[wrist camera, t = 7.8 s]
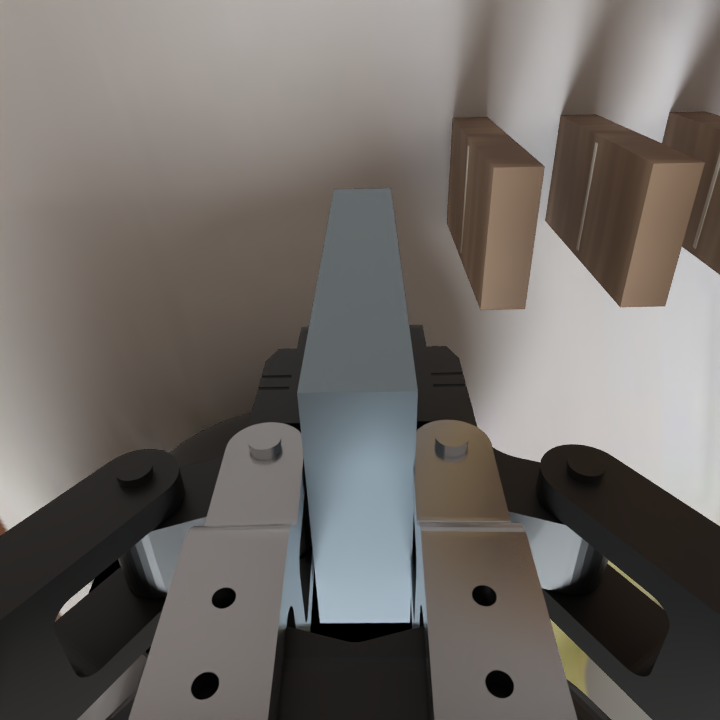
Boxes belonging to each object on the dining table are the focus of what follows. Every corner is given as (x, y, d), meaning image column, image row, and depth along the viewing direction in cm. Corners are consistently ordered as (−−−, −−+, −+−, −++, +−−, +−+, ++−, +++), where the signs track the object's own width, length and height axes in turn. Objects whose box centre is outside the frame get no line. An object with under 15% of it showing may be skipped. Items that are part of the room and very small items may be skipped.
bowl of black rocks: (195, 575, 44) (96, 904, 28) (117, 349, 33) (-115, 663, 17) (459, 563, 43) (516, 896, 27) (463, 326, 32) (560, 636, 16)
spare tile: (340, 343, 19) (319, 623, 10) (333, 189, 16) (295, 393, 8) (390, 342, 19) (410, 622, 10) (391, 188, 16) (419, 391, 8)
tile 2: (446, 223, 29) (479, 309, 21) (452, 118, 27) (493, 167, 18) (478, 222, 29) (525, 309, 21) (487, 117, 27) (545, 166, 18)
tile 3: (544, 220, 29) (619, 307, 21) (560, 115, 27) (652, 163, 18) (577, 220, 29) (665, 306, 21) (595, 114, 27) (705, 162, 18)
